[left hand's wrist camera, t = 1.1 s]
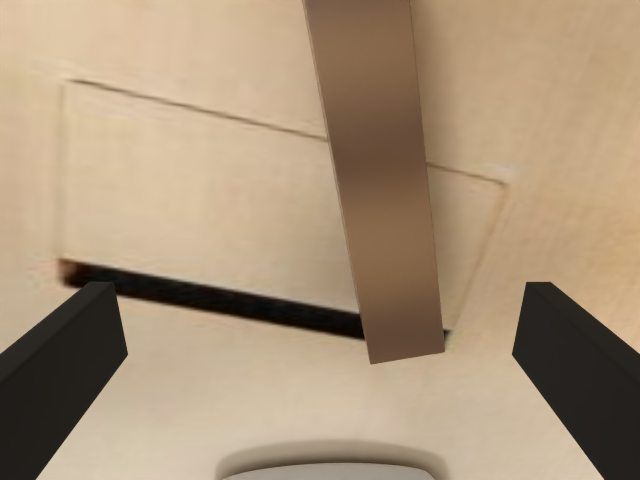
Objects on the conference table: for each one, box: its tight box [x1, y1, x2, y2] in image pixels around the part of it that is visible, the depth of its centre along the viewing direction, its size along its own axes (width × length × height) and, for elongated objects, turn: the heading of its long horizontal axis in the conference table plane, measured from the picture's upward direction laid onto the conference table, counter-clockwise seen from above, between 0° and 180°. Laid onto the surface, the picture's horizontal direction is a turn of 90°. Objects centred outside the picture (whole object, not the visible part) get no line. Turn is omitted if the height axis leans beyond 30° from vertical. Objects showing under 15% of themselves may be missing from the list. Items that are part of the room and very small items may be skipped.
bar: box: [302, 0, 445, 364], centre depth 24 cm, size 25×5×8 cm, turn 11°
